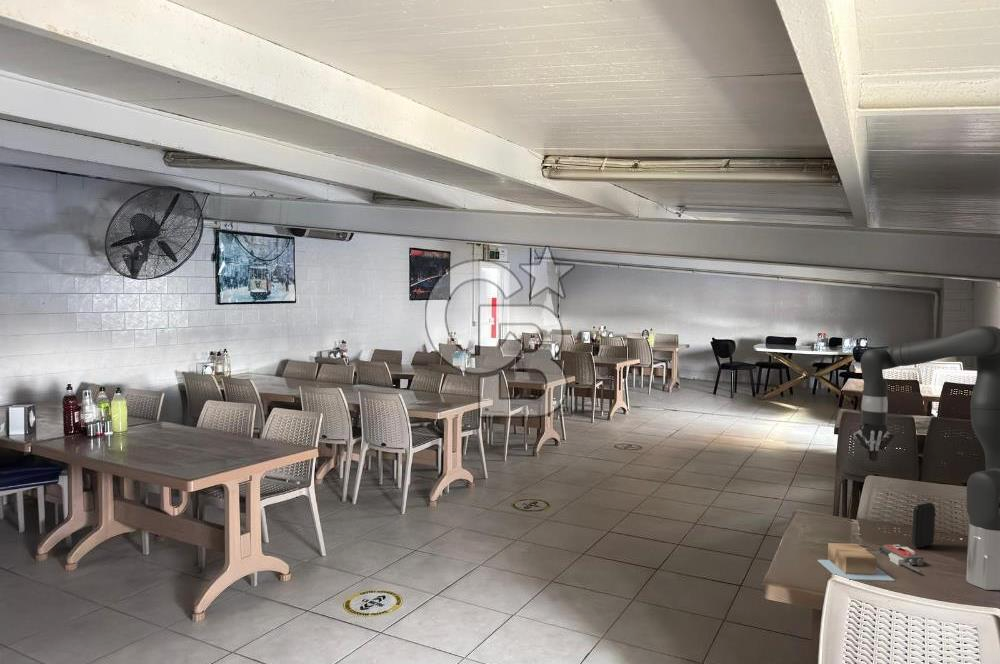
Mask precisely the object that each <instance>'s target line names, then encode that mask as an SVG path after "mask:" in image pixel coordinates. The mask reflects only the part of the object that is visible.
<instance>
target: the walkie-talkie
mask: <svg viewBox="0 0 1000 664" xmlns="http://www.w3.org/2000/svg"><path fill="white" fill-rule="evenodd" d="M878 551H879V552H881V554H882V553H883V555H884V554H885V555H884V556H886V555H887V556H886V557H888V556H889V557H888V558H889V561H890V562H891V563H893V564H895V565H897V566H901V565H903V567H906V568H907V569H910V570H911V571H915V572H917V573H919V574H921V573H922V570H920V569H918V568H916V567H915V566H912V565H918V566H919V567H921V566H924V560H925V559H924V557H923V556H921V555H919V554H917V552H916V550H914V549H912V548H909V547H908V546H901V544H896V543H895V544H894V543H892V544H882V547H879V548H878Z"/></svg>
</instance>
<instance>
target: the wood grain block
mask: <svg viewBox="0 0 1000 664" xmlns="http://www.w3.org/2000/svg"><path fill="white" fill-rule="evenodd" d="M827 547H828V548H827V560H830V561H831V562H832V563H833V564H835V565H836V566H837V567H838V568H839V569H841V570H842V571H843V572H844V573H846V574H876V567H877V562H878V558H877V557H876V556H875V555H873V554H872V553H871V552H870V551H868V550H866V549H865V548H864V547H862V546H861V545H860V544H858V543H837V542H836V543H835V542H831V543H830V542H828V545H827Z"/></svg>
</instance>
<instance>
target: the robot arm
mask: <svg viewBox="0 0 1000 664" xmlns="http://www.w3.org/2000/svg"><path fill="white" fill-rule="evenodd" d="M953 357H954V358H955V357H975V361H976V379H975V383H974V386H973V389H972V394H971V397H970V406H969V408H970V422H971V427H972V430H973V431H974V434H975V436H976V437H977V439H978V440H979V441H978V442H980V444H981V447H982V448H983V452H984V456H985V457H984V458H985V460H984V461H985V470H981V471H976V472H973V473H971V475H970V476H969V477H968V479H967V482H966V513H967V515H968V518H969V519H968V520H969V521H968V537H967V539H968V540H967V541H968V542H967V553H966V554H967V559H966V578H965V581H966V582H967V583H969V584H971V585H972V586H975V587H978V588H980V589H983V590H986V591H987V590H989V591H991V590H992V591H1000V328H999V327H997V326H992V325H976V326H974V327H971V328H968V329H966V330H963V331H960V332H957V333H954V334H950V335H947V336H942V337H938V338H932V339H925V340H918V341H912V342H911V341H910V342H906V343H902V344H898V345H895V346H890V347H883V348H870V349H867V350H865V351H864V352H863V354H862V355H861V358H860V371H861V374H862V375H861V377H862V380H863V385H862V386H863V388H862V389H863V390H862V398H861V399H862V400H861V413H860V416H861V417H860V426H859V430H857V431H855V432H852V436H853V437H854V439H855V440H856V442H857V443H858V444H859V445H860V446H861V448H863V449H865V450H866V460H868V462H870V463H876V461H878V455H879V453H878V451H880V450H884V449H885V448H886V447H887V446H888V445H889V443H890V442H892V440H893V439H894V437H895V435H894V434H893V433H891V432H889V431H888V427H887V424H888V423H887V422H888V406H889V405H888V404H889V403H888V390H889V389H888V386H889V385H888V380H887V379H885V378H884V374H883V371H885V370H890V369H894V368H898V367H899V368H900V367H907V366H913V365H914V366H915V365H920V364H925V363H930V362H935V361H938V360H942V359H946V358H953ZM863 437H864V438H865V439H863Z"/></svg>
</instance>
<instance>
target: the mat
mask: <svg viewBox="0 0 1000 664" xmlns="http://www.w3.org/2000/svg"><path fill="white" fill-rule="evenodd" d="M817 561H818V563H820V564H821V565H822V566H824V568H825V569H827V570H828V572H830V573H831V574H832V575H834V574H837V575H839V576H842V577H845V578H848V579H851V580H850V581H869V582H870V581H872V582H873V581H876V582H895V581H896V580H895V579H894V578H893V577H891V576H890V575H888V574H887V573H886V572H885V571H883V570H882V569H881V568H879V567H876V574H846V573H844V572H843V571H842V570H841V569H839V568H838V567H837V566H836V565H835V564H833V563H832V562H831V561H830V560H829V559H817Z"/></svg>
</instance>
